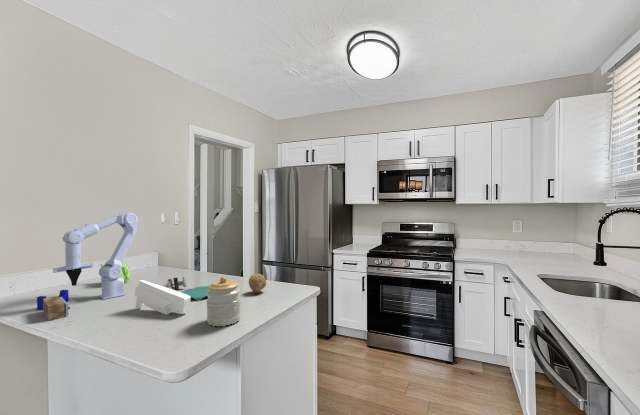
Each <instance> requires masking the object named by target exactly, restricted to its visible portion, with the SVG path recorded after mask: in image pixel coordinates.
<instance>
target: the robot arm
mask: <svg viewBox="0 0 640 415" xmlns="http://www.w3.org/2000/svg"><path fill="white" fill-rule="evenodd" d="M138 222H139V218H138V217H137V214H135V213H133V212H129V213H128V212H125V213H124V212H120V213H118V214H114V215H112V216H110V217H108V218H106V219H104V220H101V221H99V222H98V223H89V222H88V223H85V224H84V225H83V226H81V227H76V228H74V230H70V231H67V232H65V233H64V234H63V236H62V241H63V242H64V243H65V244H64V246H65V250H64V252H65V257H64V258H65V266H58V267H54V268H52V273H53V274H56V273H60V272H61V273H62V272H65V273H66V274H67V276H68V277H69V280H70V282H71V286H72V287H74V286H75V287H76V286H77V284H78V280H79V277H80V275H81V273H82V272H83V271H82V269H89V268H90V269H92V268H94V263H90V262H89V263H82V244H81V243H82V242H83V240H85V239H88V238H89V237H92V236H94V235H95V236H96V235H97V234H98V232H99V230H102V229H105V228H108V227H109V226H112V225H115V224H118V225H119V226H120V227H121V228H122V229H123V234H122V236H121V238H120V239H119V242H118V243H117V245H116V247H115V249H114V251H113V253H112V255H111V257H110V258H109V259H108V260H107V261H106V262H105V263H104V266H103V267H100V268H99V270H98V274H99V276H100V281H101V294H100V295H99V298H101V299H102V300H106V299H112V298H116V297H121V296H125V295H126V293H125V283H124V279H123V278H122V277H121V278H118V277H119V276H120V274H121V268H122V261H123V260H124V258H125V256H126V254H127V252H128V250H129V248H130V246H131V244H132V243H133V241H134V239H135V237H136V234H137V233H138ZM101 277H102V279H101Z"/></svg>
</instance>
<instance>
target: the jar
mask: <svg viewBox="0 0 640 415" xmlns="http://www.w3.org/2000/svg"><path fill="white" fill-rule="evenodd" d="M208 286H209V287H208V288H209V291H207V292H206V295H207V296H208V297H207V300H206V301H205V303H206V321H207V322H206V323H207V325H208V326H210V325H212V326H211V327H215V326H222V327H227V326H226V325H229V326H231V325H230V324H232V325H234V324H233V323H235V324H236V322H237V321H238V322H240V321H241V316H242V313H241V296H240V293H241V289H240V287H239V283H238V282H236V281H234V280H232V279H227V277H226V276H221V277H220V278H219V280H217V281H213V282H212V283H211V284H210V285H209V284H208ZM238 322H237V323H238Z"/></svg>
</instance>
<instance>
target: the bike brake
mask: <svg viewBox="0 0 640 415" xmlns="http://www.w3.org/2000/svg"><path fill="white" fill-rule="evenodd" d="M162 286H163V287H166V288H169V289H172V290H175V291H179V290H180V286H182V287H183V288H186V287H187V282H186V278H185V276H182V280H180V281H179V279H178V277H173V280H172V278H169V279H167V281H166V283H165V284H164V285H162Z"/></svg>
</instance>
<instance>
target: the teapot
mask: <svg viewBox="0 0 640 415" xmlns="http://www.w3.org/2000/svg"><path fill="white" fill-rule="evenodd" d="M104 265H105V263H99V266H101V267H103V266H104ZM101 267H100V268H101ZM121 277H122V278H123V279H124V284H126V283H128V280H130V279H131V271H130V269H129V267H128V265H127V264H126V263H125V264H122V268H121V274H120V276H119V277H118V278H121ZM101 279H102V277H101V276H100V280H101Z"/></svg>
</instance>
